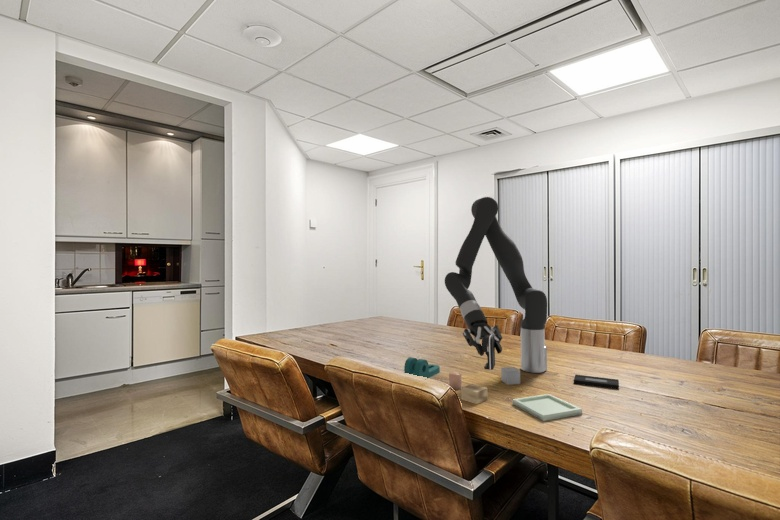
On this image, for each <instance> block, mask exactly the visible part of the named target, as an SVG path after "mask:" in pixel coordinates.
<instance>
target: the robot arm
mask: <svg viewBox="0 0 780 520" xmlns="http://www.w3.org/2000/svg"><path fill="white" fill-rule="evenodd" d="M470 209H471V214H472V216H473V218H474V220H473V222H472V225H471V228H470V230H469V232H468V234H467V236H466V238H465V239H464V241H463V243H462V245H461V247H460V249H459V252H458V254H457V258H456V259H455V266H456V267H457V268H458V269H459V271H458V272H459V273H458V272H455V271H451V272H448V273H447V274H446V275H445V277H444V285H445V288H446V290H447V291H448V292H449V294H450V295H451V296H452V298H453V299H454V300H455V301H456V304H457V305H458V308H459V311H460V313H461V316H462V318H463V320H464V323H465V325H466V327H467V328H464V330H463V331H462V336H463V337H464V339H465V341H466V343H467V345H468V346H469V347H474V348H475V350H476V351H477V354H478V355H480V357H481V356H484V355H485V352H484V351H483V349H482V343H480V341H481V340H482V338H483V337H484V336H485V335H494V339H495V352H496V353H497V354H501V353H502V351H503V347H502V345H501V341H502V340H503V336H502V334H501V331H500V329H499V327H498V325H494V326H491V325H489V323H488V320H487V318H486V316H485V314H484V311H483V310H482V308H481V306H480V304H479V303H478V301H477V299H476V297H475V296H474V293H473V292H472V291H471V290H469V288H470V285H471V282H472V274H473V266H474V264H475V261H476V258H477V256H478V253H479V250H480V249H481V245H482V243H483V241H484V238H486V239H487V242H488V244H489V246H490V249H491V250H492V253H493V254H494V256H495V259H496V260H497V262H498V264H499V266H500V267H501V269H502V271H503V273H504V276H506V278H507V281H508V282H509V284H510V286H511V289H512V291H513V293H514V295H515V298H516V302H517V303H518V305H519V307H521V309H523V310H525V311H524V318H523V319H522V320H521V321H520V369H521V371H523V372H527V373H531V374H532V373H533V374H536V373H537V374H538V373H539V374H540V373H544V372H546V371H548V348H547V346H546V345H545V343H546V340H545V339H546V335H545V334H546V333H545V332H546V330H545V324H546V322H547V318H548V299H547V295H546V293H545V292H544V291H543V290H541V289H537V288H533V286H532V285H531V283H530V282H529V280H528V278H527V277H526V273H525V266H524V260H523V257H522V254H521V252H520V250H519V249H518V247H517V245H516V243H515V242H514V240H513V239H512V238H511V236H509V234H508V233H507V232H506V231H505V230H504V229H503V227H502V226H501V224H500V223H499V222H500V221H498V220H499V219H497V214H498V212H499V204H498V202H497V201H496V199H495V198H493V197H491V196H484V197H481V198H478V199H476V200H475V201H473V203H472V204H471V208H470Z"/></svg>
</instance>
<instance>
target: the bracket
mask: <svg viewBox="0 0 780 520" xmlns="http://www.w3.org/2000/svg"><path fill="white" fill-rule="evenodd" d="M403 368H404V371H403V372H404V373H409V374H413V375H417V376H423V377H427V379H429V378H432V377H434V376H435V375H438V374H440V373H441V370H440V369H441V368H440V365H438V364H432V363H431V364H429V361H428V360H427V359H423V358H419V359H417V358H416V357H411V356H410V357H408V358H406V361H405V363H404V367H403Z"/></svg>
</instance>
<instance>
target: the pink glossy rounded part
mask: <svg viewBox="0 0 780 520" xmlns="http://www.w3.org/2000/svg"><path fill="white" fill-rule="evenodd" d="M462 375H463V374H462V373H461V372H459V371H451V372H449V373H448V386H449V385H450V386H451V387H452V388H453V389H452V390H461V388H462V385H463V384H462V381H463V380H462Z"/></svg>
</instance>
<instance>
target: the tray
mask: <svg viewBox="0 0 780 520" xmlns="http://www.w3.org/2000/svg"><path fill="white" fill-rule="evenodd" d="M512 405H514V406H516V407H517V408H518V409H521V410H522V411H524V412H526V413H528V414H530V415H532V416H534V417H535V418H537V419H538V420H541V421H542V422H545V421H546V422H547V421H552V420H558V419H562V418H563V419H564V418H568V417H575V416H580V415H583V408H581V407H579V406H577V405H575V404H572V403H570V402H567V401H566V400H564V399H561V398H559V397H557V396H554V395H553V394H550V393H545V394H538V395H531V396H525V397H519V398H513V399H512Z"/></svg>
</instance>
